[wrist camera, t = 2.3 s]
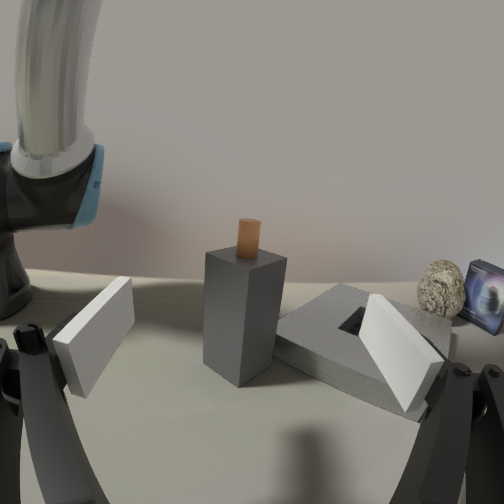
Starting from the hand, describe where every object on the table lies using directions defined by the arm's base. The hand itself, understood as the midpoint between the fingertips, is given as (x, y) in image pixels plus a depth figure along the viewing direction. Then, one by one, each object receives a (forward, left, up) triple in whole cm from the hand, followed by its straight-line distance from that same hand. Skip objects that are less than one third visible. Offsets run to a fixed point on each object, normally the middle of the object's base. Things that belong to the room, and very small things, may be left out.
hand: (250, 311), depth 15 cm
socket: (+3, +21, -12) cm, 25 cm away
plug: (-7, +7, -12) cm, 16 cm away
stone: (+10, +38, -12) cm, 42 cm away
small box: (+20, +43, -12) cm, 49 cm away
